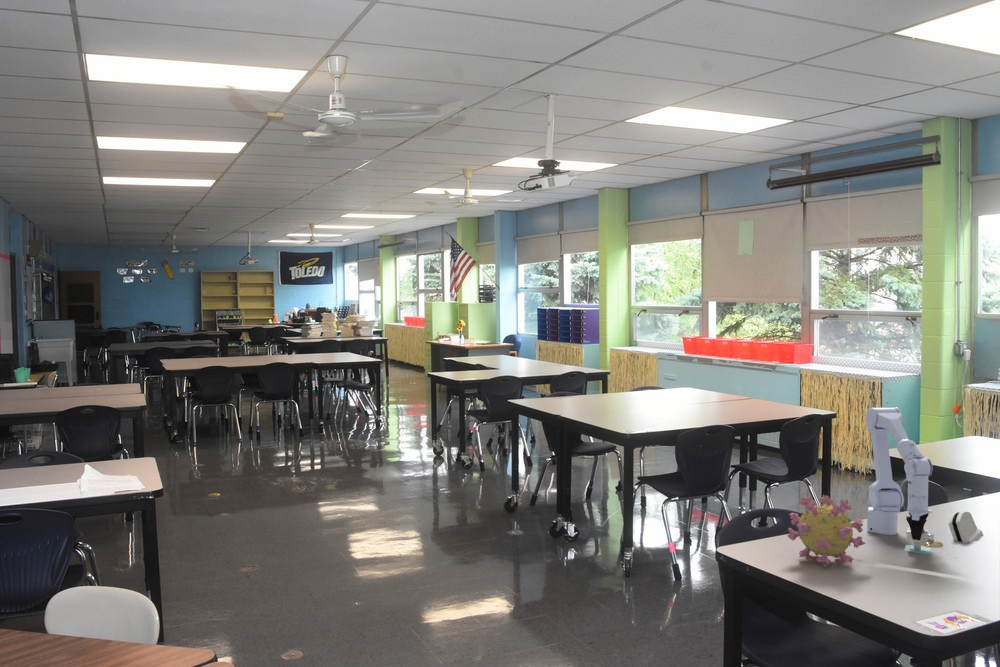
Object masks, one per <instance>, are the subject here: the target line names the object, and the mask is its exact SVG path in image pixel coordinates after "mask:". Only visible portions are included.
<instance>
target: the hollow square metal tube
mask: <svg viewBox="0 0 1000 667" xmlns="http://www.w3.org/2000/svg"><path fill="white" fill-rule="evenodd" d="M928 534H929V530H928V529H924V528H923V529H922V535H921V539H920V540H913V539H912V535H911V529H910V527H908V528H907V530H906V542H911V543H914V542H917V543H924V544H927V541H928Z"/></svg>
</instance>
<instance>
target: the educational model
mask: <svg viewBox="0 0 1000 667" xmlns="http://www.w3.org/2000/svg"><path fill="white" fill-rule="evenodd" d="M818 500H819V503H822V504H817V502H816V500H813V497H812V495H809V496H808V497H806V498H805V496H801V498H800V501H799V504H801V505H802V506H804V512H802V513H801V514H802V515H800V516H799V514H798V513H794V512H791V513H789V516H790V520H791V521H790V523H791V525H792V526H796V529H797V530H798V531H795V530H794V529H793V528H791V527H788V529H787V530H788V532H789V533H788V534H787V536H786V537H788V539H790V540H791V541H795V540H796V539H797V538H798V537H799V539H800V540H801V542H802V544H803V545H804V546H805V548H804V549H802V550H799V556H798V558H805V559H806V560H807V561H810V560H812V557H811V555H810V553H811V552H812V553H814V555H815V556H820V557H817V558H816V560H817V561H816V562H819V563H821V564H822V565H823V566H824V568H825V569H827V567H828V566H829V565H830V564H831V559H829V558H828V557H832V558H835V559H838V564H839V565H842V566H843V565H844V564H846V563H850V564H853V563H852V562H853V559H854V558H853V557H852V556H851V555H846V554H847V551H846V550H847V549H848V548H849V547H851V546H852V545H851V544H853V548H856V549H858V548H859V547H860V546H864V545H866V542H865V541H863V537H862V536H859V535H858V536H857V537H853V535H854V534H853V532H854V529H855V530H856V531H857V532H858V533H859V534H860V533H862V532H863V530H864V529H863V528H862V527H863V526H864V524H863V523H864V520H861V519H860V518H857V517H856V518H855V520H854V522H851V521H852V520H851V519H850V518H849V517H848V515H847V514H846V510H848V511H851V510H852V505H851V504H850V503H849V499H846V501H845V500H844V499H841V500H840V502H839V503H840V505H838V504H837V503H836V502H835V500H834V499H832V498H830V496H829V495H825V494H823V495H822V496H820V497H819V498H818Z"/></svg>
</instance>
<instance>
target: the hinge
mask: <svg viewBox="0 0 1000 667" xmlns="http://www.w3.org/2000/svg"><path fill="white" fill-rule="evenodd" d="M977 527H978V526H977V525H976V522H975V520H974V517H973V516H972V513H971V512H970V511H960V512H955V513H952V514H951V515H950V517H949V519H948V528H949V530H950V533H951V536H952V540H953V541H954V542H955V541H956V542H962V543H965V544H966V543H967V544H972V543H973V542H977V541H978V540H979V539H980V538H982V536H983V537H984V534H983V531H982V530H981V529H980V528H977Z"/></svg>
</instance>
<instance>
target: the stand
mask: <svg viewBox="0 0 1000 667" xmlns="http://www.w3.org/2000/svg"><path fill="white" fill-rule="evenodd" d="M931 548H932V547H931ZM931 548H930V547H927V546H926V547H924V546H922V545H921V543H917V542H913V545H910V544H906V545H905V547H904V550H903V551H905V552H911V553H917V554H925V555H930V551H931Z"/></svg>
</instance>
